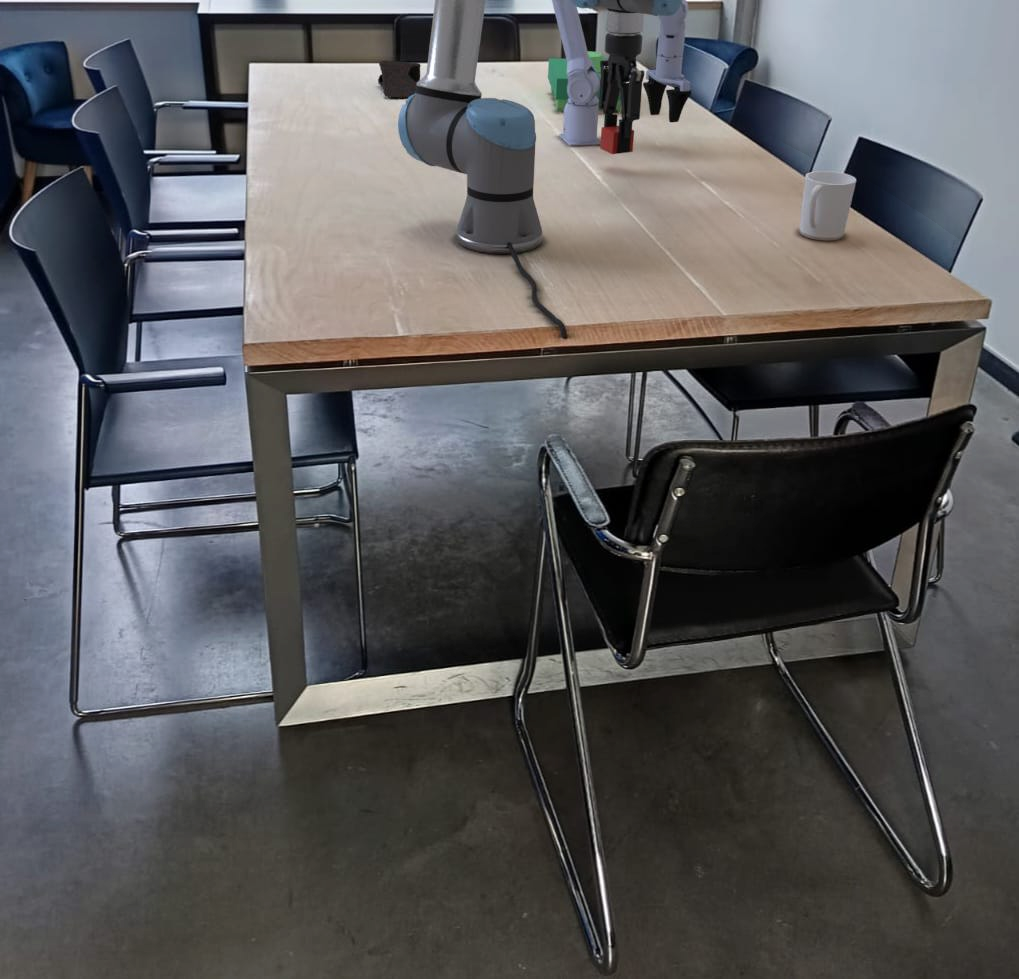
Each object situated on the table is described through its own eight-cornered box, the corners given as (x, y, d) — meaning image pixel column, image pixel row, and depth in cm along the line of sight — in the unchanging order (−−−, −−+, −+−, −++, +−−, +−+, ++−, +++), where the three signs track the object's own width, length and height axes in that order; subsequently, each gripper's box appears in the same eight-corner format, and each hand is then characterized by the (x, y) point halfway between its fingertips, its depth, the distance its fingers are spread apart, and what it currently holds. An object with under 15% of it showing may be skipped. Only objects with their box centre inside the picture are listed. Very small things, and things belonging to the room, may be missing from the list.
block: (632, 151, 234) (634, 130, 231) (612, 154, 232) (613, 132, 229) (620, 146, 238) (621, 125, 235) (600, 148, 236) (601, 127, 233)
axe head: (443, 87, 294) (392, 77, 287) (436, 115, 299) (385, 106, 292) (421, 62, 307) (371, 52, 300) (414, 89, 311) (365, 80, 304)
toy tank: (610, 40, 305) (627, 64, 275) (607, 86, 311) (623, 114, 282) (547, 38, 304) (557, 62, 274) (545, 84, 310) (555, 113, 281)
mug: (809, 222, 208) (818, 168, 202) (854, 233, 203) (864, 177, 197) (782, 236, 200) (791, 180, 195) (827, 247, 195) (838, 190, 190)
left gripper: (664, 39, 217) (654, 157, 229) (616, 25, 231) (609, 137, 243) (632, 41, 214) (623, 161, 226) (585, 27, 228) (579, 141, 240)
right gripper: (704, 59, 239) (697, 123, 246) (666, 48, 250) (660, 109, 257) (677, 61, 236) (671, 126, 243) (640, 50, 247) (635, 112, 254)
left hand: (616, 148), depth 235 cm, fingers closed on block, 5 cm apart
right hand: (664, 118), depth 250 cm, fingers open, 7 cm apart
